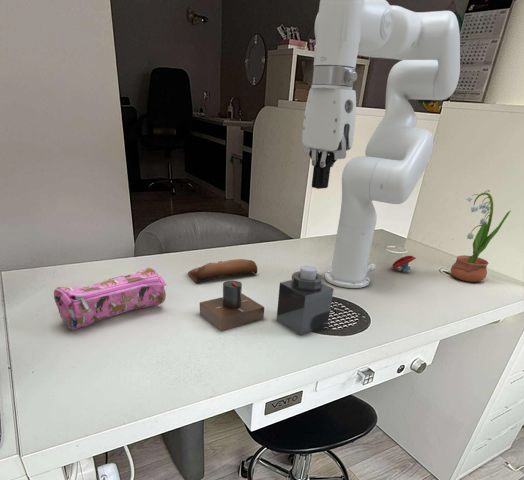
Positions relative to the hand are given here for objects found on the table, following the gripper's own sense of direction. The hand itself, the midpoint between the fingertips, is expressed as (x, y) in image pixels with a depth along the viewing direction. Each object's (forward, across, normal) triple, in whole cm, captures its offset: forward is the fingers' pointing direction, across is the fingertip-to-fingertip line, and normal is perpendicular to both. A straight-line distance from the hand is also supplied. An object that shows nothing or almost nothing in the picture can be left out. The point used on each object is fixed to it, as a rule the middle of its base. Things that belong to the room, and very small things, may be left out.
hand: (319, 187), depth 81 cm
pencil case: (+26, +16, +40) cm, 51 cm away
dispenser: (+26, -7, +8) cm, 29 cm away
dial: (+23, +3, +19) cm, 30 cm away
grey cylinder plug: (+16, -7, +8) cm, 19 cm away
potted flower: (+28, -10, -56) cm, 64 cm away
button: (+28, +3, -44) cm, 52 cm away
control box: (+26, +3, +19) cm, 33 cm away
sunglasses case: (+27, +26, +7) cm, 38 cm away
